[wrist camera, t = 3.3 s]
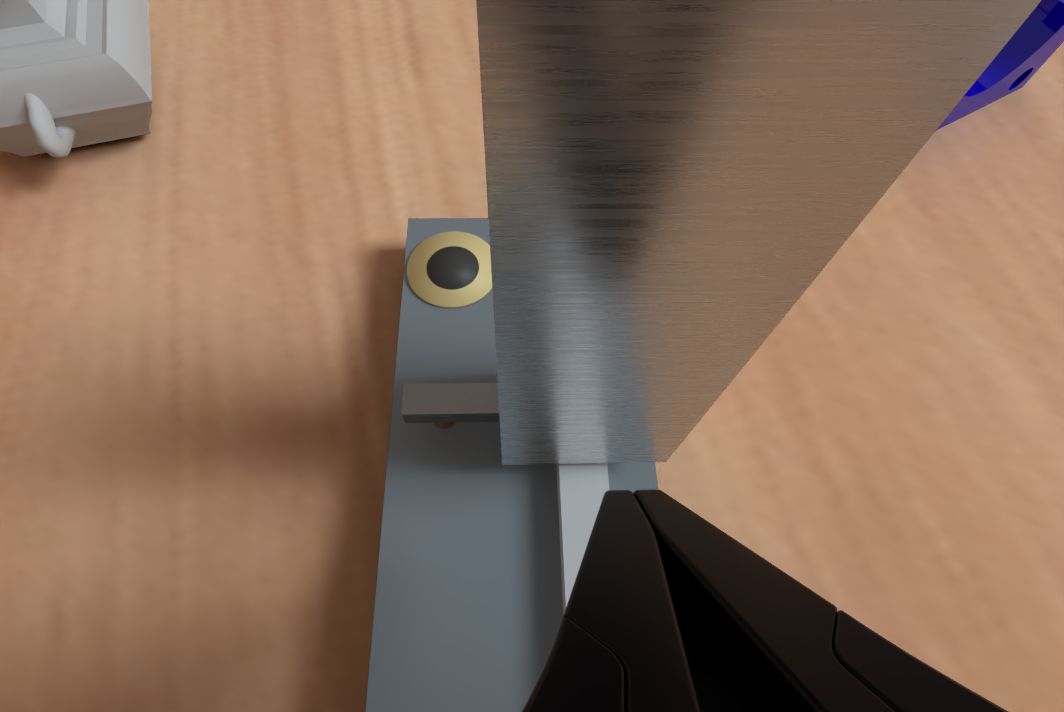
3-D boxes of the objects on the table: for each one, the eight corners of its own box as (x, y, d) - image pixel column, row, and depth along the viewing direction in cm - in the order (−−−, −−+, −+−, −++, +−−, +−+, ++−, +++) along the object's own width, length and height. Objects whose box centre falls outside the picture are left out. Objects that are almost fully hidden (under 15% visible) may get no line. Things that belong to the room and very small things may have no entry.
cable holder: (954, 45, 26) (1023, -50, 23) (1018, 91, 25) (1101, -1, 22) (825, 104, 24) (878, 10, 21) (886, 158, 23) (954, 67, 20)
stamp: (192, 178, 21) (16, -80, 14) (-9, 219, 20) (-319, -37, 13) (178, 27, 25) (35, -241, 18) (9, 54, 24) (-222, -218, 16)
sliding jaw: (660, 468, 15) (1131, -112, 4) (406, 473, 15) (41, -135, 3) (646, 362, 16) (955, -302, 5) (414, 365, 16) (174, -329, 5)
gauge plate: (711, 1074, 11) (775, 1210, 9) (349, 1096, 11) (294, 1243, 8) (617, 246, 20) (633, 183, 18) (415, 247, 20) (399, 182, 17)
